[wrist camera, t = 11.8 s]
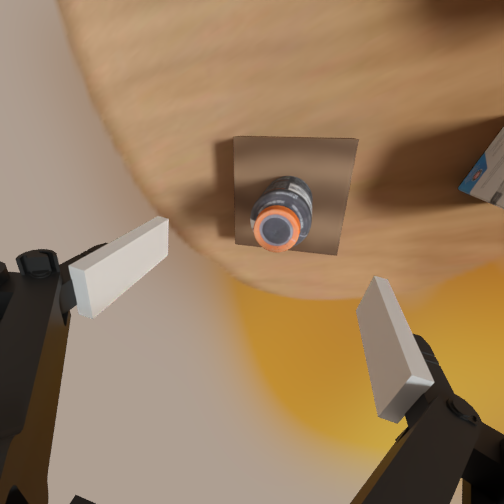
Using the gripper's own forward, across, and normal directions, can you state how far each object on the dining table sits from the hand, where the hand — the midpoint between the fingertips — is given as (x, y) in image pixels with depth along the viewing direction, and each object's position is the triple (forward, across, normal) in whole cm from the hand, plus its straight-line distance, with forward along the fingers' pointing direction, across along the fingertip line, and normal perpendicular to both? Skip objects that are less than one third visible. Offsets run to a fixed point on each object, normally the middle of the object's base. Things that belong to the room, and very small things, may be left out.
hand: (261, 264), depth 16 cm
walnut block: (+21, 0, 0) cm, 21 cm away
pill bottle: (+18, 0, 0) cm, 18 cm away
